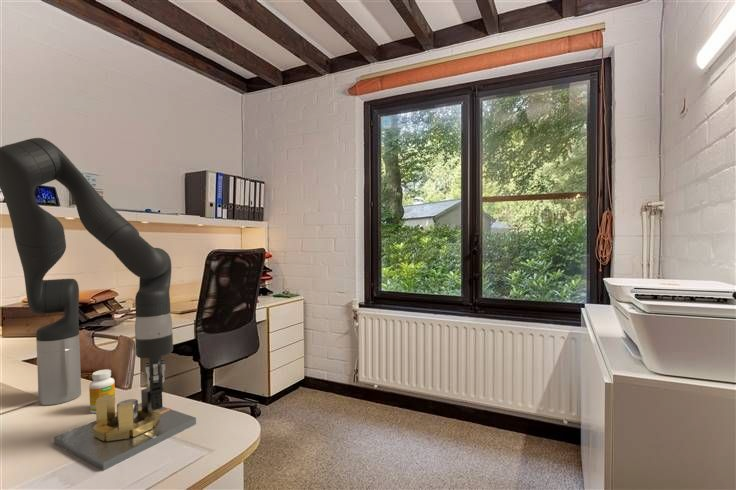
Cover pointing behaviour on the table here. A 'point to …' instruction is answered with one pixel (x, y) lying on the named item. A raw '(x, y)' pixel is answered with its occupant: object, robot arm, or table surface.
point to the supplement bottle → (100, 387)
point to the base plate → (119, 450)
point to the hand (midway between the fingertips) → (157, 408)
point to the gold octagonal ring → (123, 418)
